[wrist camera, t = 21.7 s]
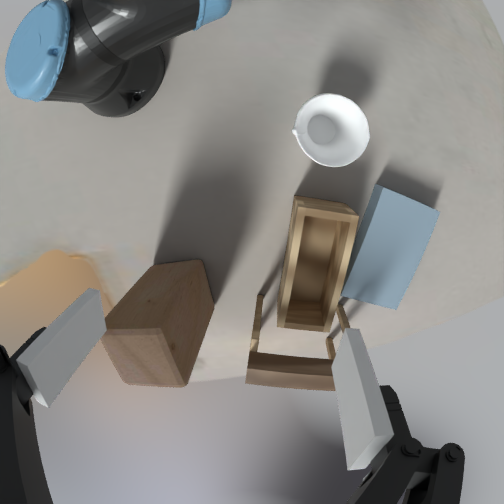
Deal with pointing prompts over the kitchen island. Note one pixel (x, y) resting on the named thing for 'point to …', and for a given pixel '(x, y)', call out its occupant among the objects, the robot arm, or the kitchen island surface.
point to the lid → (388, 248)
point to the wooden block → (160, 325)
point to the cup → (331, 129)
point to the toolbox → (313, 268)
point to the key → (290, 372)
